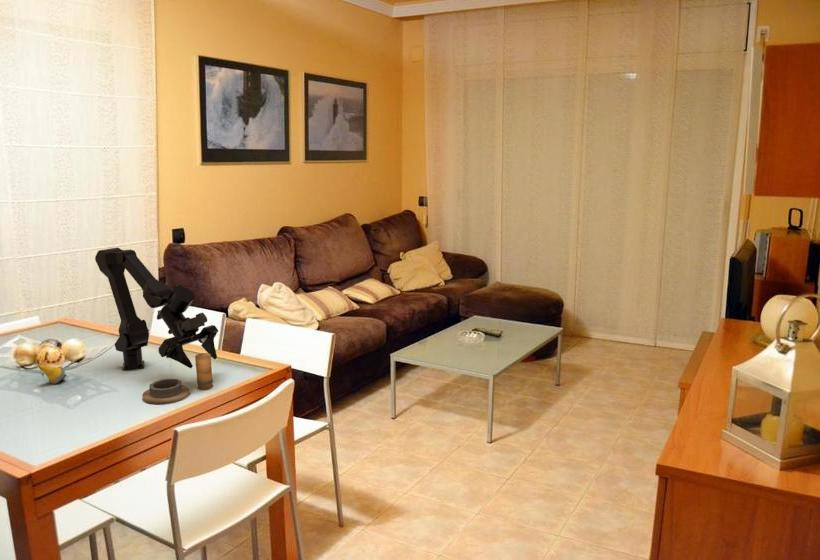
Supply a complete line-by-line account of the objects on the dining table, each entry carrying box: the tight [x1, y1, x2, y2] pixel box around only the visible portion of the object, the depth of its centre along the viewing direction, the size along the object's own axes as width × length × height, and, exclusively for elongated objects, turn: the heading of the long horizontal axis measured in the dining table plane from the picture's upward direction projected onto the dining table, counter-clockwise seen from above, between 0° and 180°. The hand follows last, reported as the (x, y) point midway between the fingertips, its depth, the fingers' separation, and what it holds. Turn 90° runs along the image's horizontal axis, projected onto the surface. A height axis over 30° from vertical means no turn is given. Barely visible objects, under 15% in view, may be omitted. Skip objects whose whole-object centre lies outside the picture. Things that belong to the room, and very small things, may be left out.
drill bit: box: [37, 364, 68, 385], centre depth 206 cm, size 5×5×10 cm
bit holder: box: [141, 378, 191, 405], centre depth 197 cm, size 13×13×4 cm
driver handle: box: [194, 352, 214, 391], centre depth 203 cm, size 4×4×10 cm
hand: (204, 362), depth 202 cm, fingers open, 9 cm apart
